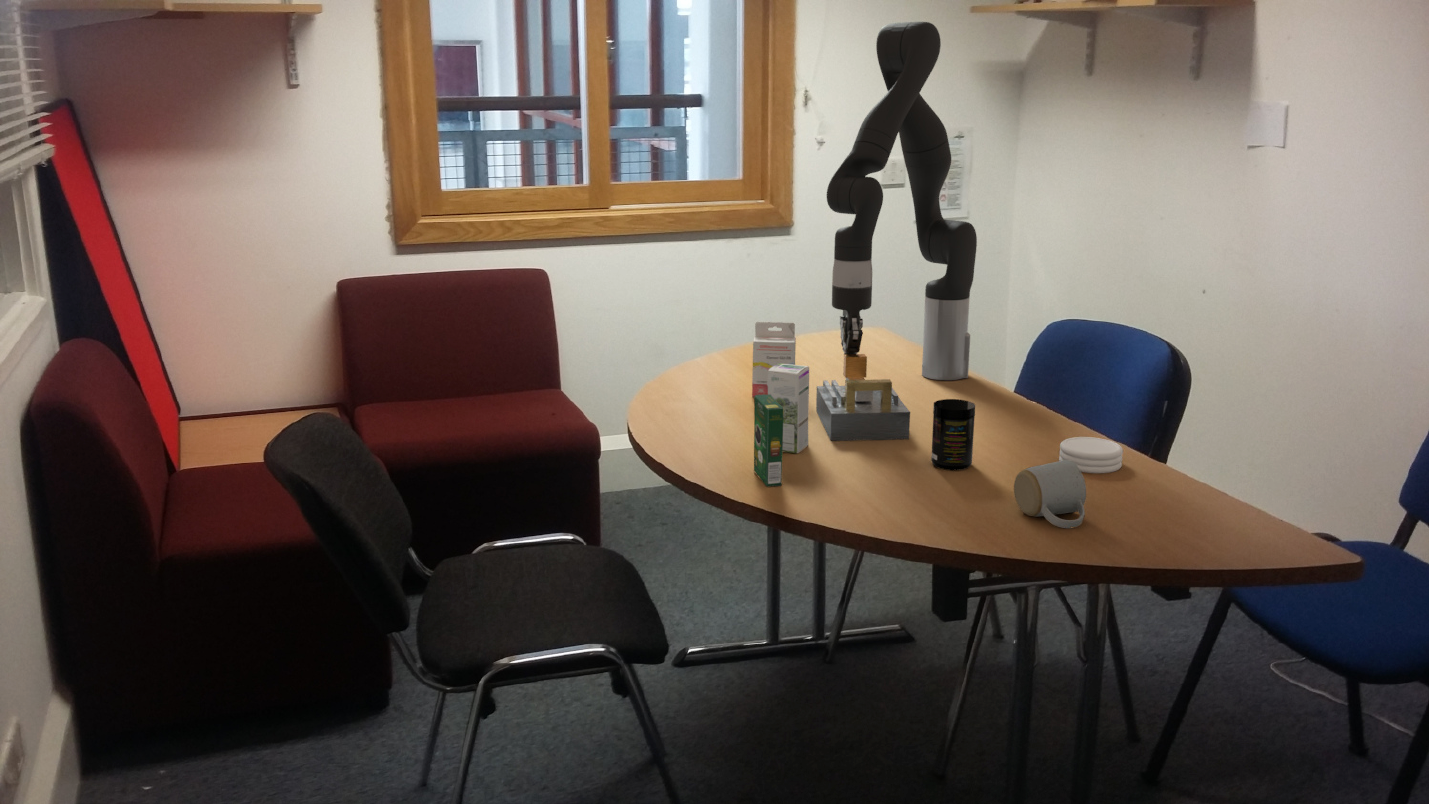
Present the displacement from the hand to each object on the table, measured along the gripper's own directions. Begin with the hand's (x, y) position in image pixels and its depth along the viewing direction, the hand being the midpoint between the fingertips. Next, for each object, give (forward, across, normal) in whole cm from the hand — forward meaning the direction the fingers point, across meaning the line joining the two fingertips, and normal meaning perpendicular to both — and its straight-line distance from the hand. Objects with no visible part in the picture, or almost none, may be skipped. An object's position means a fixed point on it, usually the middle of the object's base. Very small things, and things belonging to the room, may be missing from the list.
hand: (849, 371), depth 225 cm
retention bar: (+2, -9, 0) cm, 9 cm away
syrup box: (+8, -25, +14) cm, 30 cm away
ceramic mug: (+8, -60, -21) cm, 64 cm away
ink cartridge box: (+7, +10, +14) cm, 19 cm away
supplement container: (+8, -36, -12) cm, 38 cm away
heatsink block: (+7, -12, 0) cm, 14 cm away
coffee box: (+8, -41, +19) cm, 46 cm away
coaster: (+8, -36, -35) cm, 51 cm away
